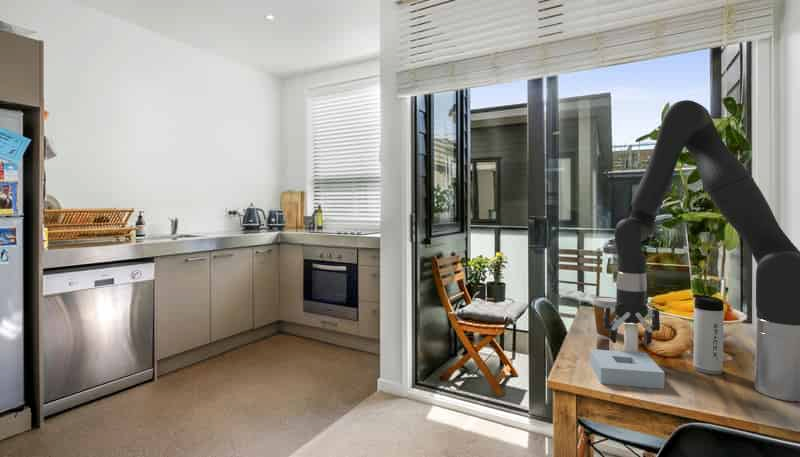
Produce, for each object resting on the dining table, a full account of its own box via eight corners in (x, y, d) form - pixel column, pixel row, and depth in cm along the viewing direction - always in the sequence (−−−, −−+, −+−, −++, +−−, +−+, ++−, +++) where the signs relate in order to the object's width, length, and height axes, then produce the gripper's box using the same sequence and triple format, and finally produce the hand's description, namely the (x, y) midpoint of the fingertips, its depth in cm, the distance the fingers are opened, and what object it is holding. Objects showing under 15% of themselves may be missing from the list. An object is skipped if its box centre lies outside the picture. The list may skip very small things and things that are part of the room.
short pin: (607, 353, 125) (607, 336, 124) (610, 357, 121) (610, 340, 121) (595, 352, 125) (595, 336, 125) (597, 356, 122) (598, 339, 122)
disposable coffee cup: (623, 331, 146) (623, 297, 145) (621, 339, 138) (622, 303, 137) (593, 327, 151) (593, 295, 150) (590, 335, 142) (590, 300, 142)
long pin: (635, 357, 121) (636, 323, 120) (639, 361, 118) (639, 326, 117) (622, 356, 122) (623, 322, 121) (626, 360, 118) (626, 325, 118)
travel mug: (694, 363, 115) (695, 292, 114) (724, 370, 110) (725, 295, 110) (689, 370, 111) (690, 296, 110) (720, 377, 106) (721, 299, 105)
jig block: (645, 367, 113) (645, 352, 113) (664, 388, 100) (664, 372, 100) (589, 363, 117) (590, 349, 117) (600, 383, 103) (601, 367, 103)
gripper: (607, 289, 117) (606, 345, 118) (664, 291, 113) (662, 349, 114) (601, 284, 124) (600, 337, 125) (654, 286, 121) (653, 341, 122)
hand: (630, 343), depth 120 cm, fingers open, 8 cm apart
